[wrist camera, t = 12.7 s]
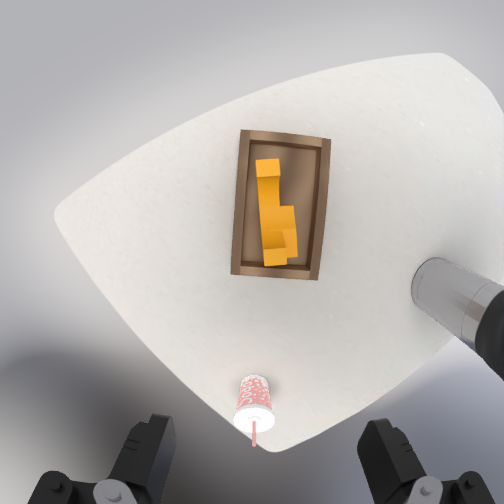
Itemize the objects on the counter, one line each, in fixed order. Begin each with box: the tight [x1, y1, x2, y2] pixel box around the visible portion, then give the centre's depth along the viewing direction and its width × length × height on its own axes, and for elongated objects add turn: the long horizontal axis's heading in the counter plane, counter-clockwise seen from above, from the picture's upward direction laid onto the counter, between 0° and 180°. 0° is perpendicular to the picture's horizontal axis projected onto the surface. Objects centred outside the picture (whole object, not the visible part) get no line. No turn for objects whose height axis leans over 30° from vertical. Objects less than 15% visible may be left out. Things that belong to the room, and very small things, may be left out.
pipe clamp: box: [255, 158, 298, 266], centre depth 33 cm, size 12×4×6 cm, turn 5°
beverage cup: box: [233, 375, 275, 447], centre depth 36 cm, size 6×6×14 cm
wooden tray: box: [231, 130, 331, 280], centre depth 35 cm, size 11×18×4 cm, turn 176°
